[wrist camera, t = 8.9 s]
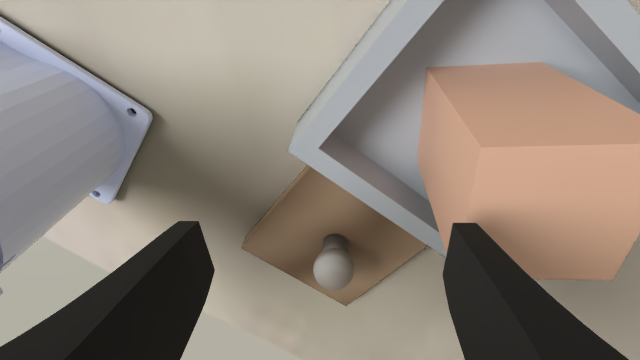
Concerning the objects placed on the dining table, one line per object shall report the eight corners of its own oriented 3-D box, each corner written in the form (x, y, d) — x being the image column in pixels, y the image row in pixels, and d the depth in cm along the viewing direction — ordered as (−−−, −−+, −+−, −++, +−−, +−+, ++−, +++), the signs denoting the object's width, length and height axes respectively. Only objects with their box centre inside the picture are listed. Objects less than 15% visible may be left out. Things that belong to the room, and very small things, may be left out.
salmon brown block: (417, 161, 18) (453, 277, 12) (426, 67, 16) (480, 147, 9) (514, 159, 18) (612, 280, 11) (541, 61, 15) (692, 142, 8)
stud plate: (245, 237, 24) (225, 289, 20) (322, 147, 19) (314, 192, 16) (346, 295, 26) (345, 350, 22) (434, 226, 22) (451, 281, 18)
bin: (298, 121, 18) (287, 151, 16) (477, -114, 13) (515, -136, 10) (462, 237, 22) (479, 280, 19) (662, 95, 16) (730, 124, 13)
